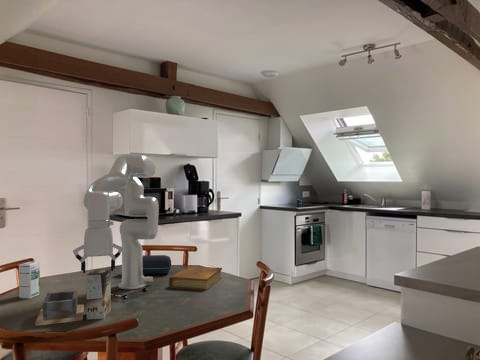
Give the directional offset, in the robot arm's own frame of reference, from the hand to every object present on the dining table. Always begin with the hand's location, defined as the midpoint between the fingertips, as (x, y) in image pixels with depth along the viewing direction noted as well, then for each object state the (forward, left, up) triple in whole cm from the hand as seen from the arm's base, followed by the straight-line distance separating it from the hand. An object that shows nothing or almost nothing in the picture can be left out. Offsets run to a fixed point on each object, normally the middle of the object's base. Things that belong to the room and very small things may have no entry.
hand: (98, 271), depth 139 cm
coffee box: (0, -1, -16) cm, 16 cm away
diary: (-45, -32, -17) cm, 58 cm away
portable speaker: (-25, -59, -17) cm, 66 cm away
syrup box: (+28, -37, -16) cm, 49 cm away
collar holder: (+13, -5, -16) cm, 21 cm away
